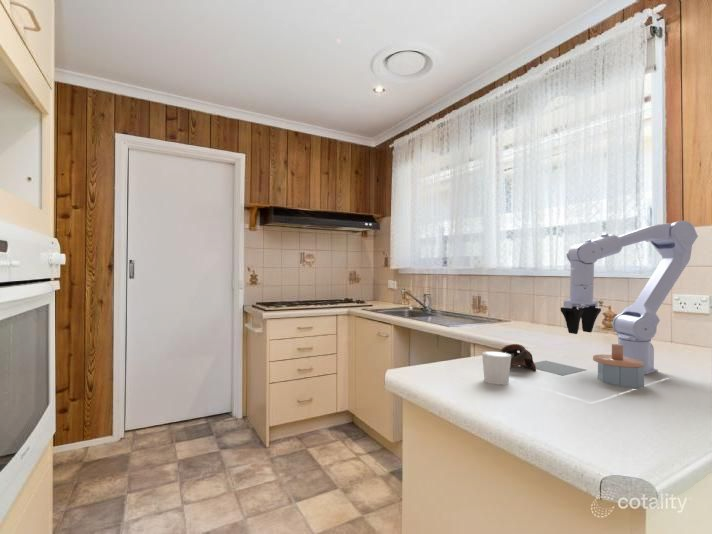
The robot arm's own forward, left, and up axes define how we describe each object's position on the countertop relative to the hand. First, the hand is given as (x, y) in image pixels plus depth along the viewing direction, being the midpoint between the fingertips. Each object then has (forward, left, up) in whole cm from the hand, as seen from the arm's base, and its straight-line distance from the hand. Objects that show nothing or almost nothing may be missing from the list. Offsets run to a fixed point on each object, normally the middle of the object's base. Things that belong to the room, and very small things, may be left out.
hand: (580, 332), depth 106 cm
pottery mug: (+17, -9, -11) cm, 22 cm away
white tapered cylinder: (+32, -4, -11) cm, 34 cm away
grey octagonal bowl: (+5, +12, -10) cm, 17 cm away
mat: (+7, -4, -10) cm, 13 cm away
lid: (+5, +12, -5) cm, 14 cm away
